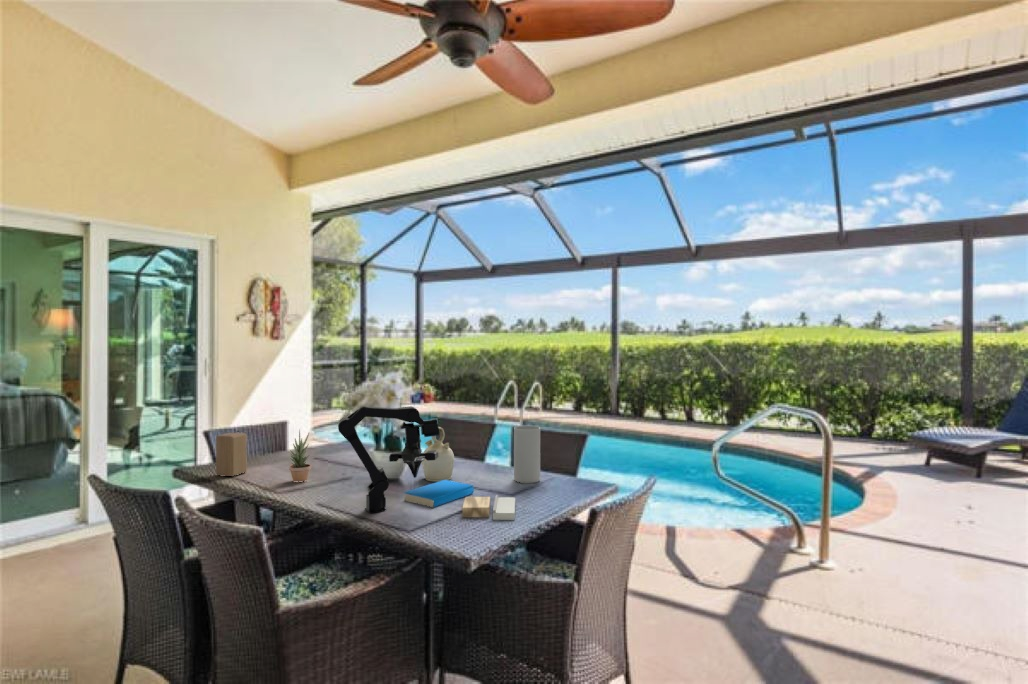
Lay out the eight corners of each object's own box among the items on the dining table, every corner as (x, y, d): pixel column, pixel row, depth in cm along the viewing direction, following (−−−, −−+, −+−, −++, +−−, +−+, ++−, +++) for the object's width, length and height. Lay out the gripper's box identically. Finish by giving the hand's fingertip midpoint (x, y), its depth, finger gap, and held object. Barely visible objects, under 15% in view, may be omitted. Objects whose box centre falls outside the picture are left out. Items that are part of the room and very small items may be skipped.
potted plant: (314, 478, 263) (314, 427, 262) (305, 484, 253) (305, 430, 253) (294, 478, 264) (294, 426, 263) (284, 483, 254) (284, 430, 254)
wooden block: (215, 476, 267) (215, 435, 267) (231, 471, 276) (231, 432, 276) (231, 477, 264) (231, 436, 264) (247, 473, 273) (247, 433, 273)
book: (403, 492, 228) (444, 478, 248) (404, 502, 228) (444, 488, 248) (434, 499, 218) (474, 484, 238) (434, 509, 218) (474, 494, 238)
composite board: (492, 519, 204) (492, 510, 204) (495, 503, 224) (495, 494, 224) (514, 519, 203) (514, 510, 203) (515, 503, 223) (515, 495, 223)
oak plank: (462, 507, 207) (489, 507, 207) (465, 496, 221) (490, 496, 221) (462, 518, 207) (489, 518, 207) (465, 506, 221) (490, 506, 221)
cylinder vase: (530, 485, 252) (530, 430, 252) (508, 480, 259) (508, 428, 259) (545, 479, 262) (545, 427, 262) (524, 475, 269) (524, 424, 269)
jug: (416, 478, 264) (416, 426, 264) (444, 473, 274) (444, 423, 274) (431, 484, 252) (431, 430, 252) (460, 479, 262) (460, 427, 262)
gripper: (383, 443, 212) (385, 483, 212) (430, 442, 210) (432, 482, 210) (392, 437, 223) (395, 475, 223) (437, 436, 221) (439, 474, 221)
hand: (415, 477), depth 219 cm, fingers closed
